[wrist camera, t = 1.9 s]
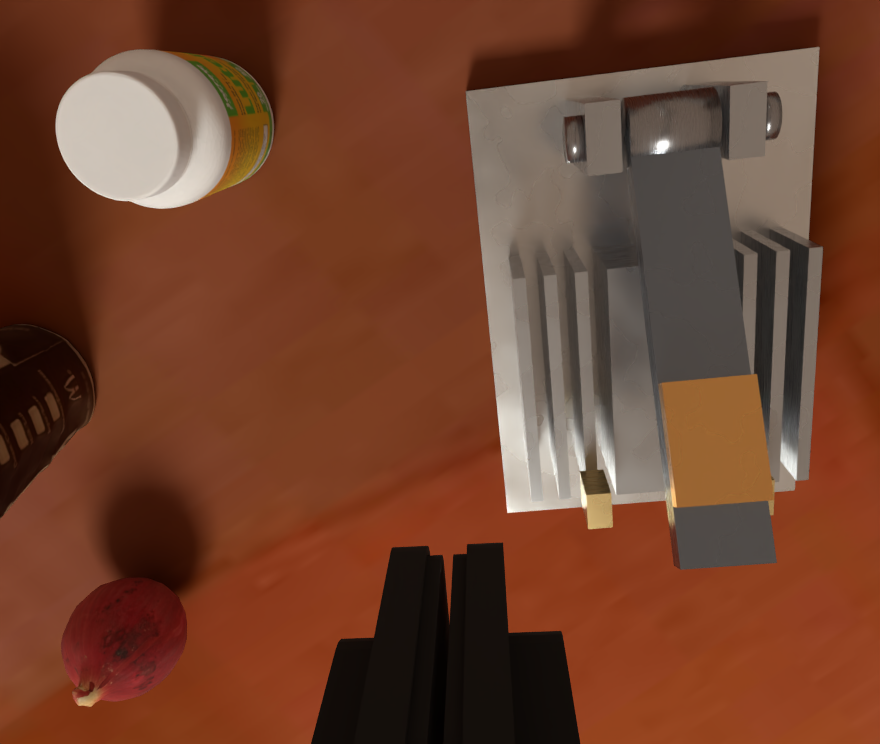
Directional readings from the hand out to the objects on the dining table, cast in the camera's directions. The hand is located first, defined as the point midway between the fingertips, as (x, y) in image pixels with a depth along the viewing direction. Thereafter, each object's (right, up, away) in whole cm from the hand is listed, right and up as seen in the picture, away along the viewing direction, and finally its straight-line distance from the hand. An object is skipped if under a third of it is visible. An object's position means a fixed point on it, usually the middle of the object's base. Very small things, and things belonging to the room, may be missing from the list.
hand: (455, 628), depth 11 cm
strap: (+8, +5, +15) cm, 18 cm away
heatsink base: (+9, +7, +24) cm, 26 cm away
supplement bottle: (-10, +15, +22) cm, 28 cm away
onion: (-16, -8, +31) cm, 36 cm away
